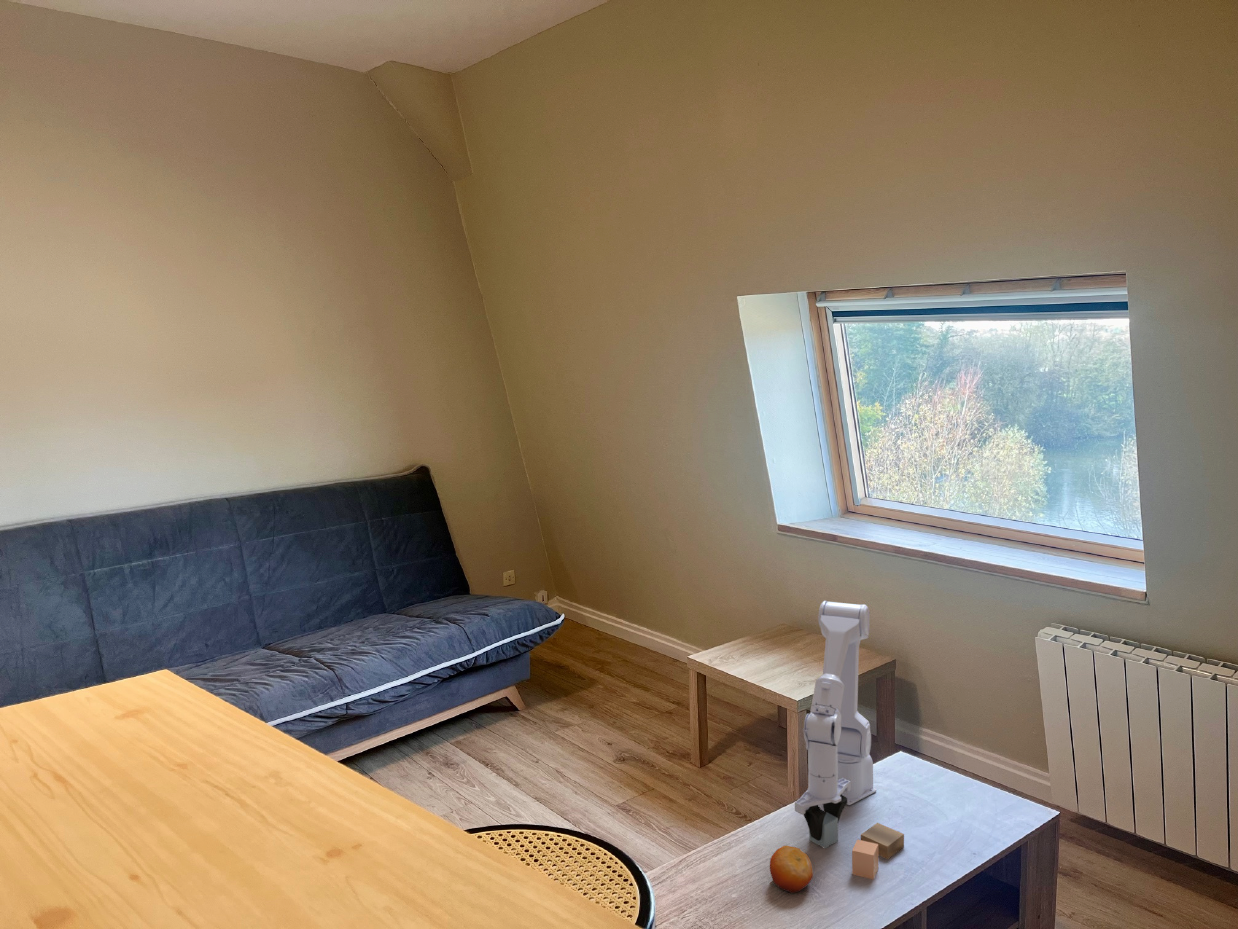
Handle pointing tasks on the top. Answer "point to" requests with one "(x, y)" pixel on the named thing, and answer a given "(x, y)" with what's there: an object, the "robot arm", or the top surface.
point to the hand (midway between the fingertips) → (823, 834)
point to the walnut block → (884, 839)
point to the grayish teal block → (827, 831)
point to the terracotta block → (865, 859)
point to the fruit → (790, 869)
